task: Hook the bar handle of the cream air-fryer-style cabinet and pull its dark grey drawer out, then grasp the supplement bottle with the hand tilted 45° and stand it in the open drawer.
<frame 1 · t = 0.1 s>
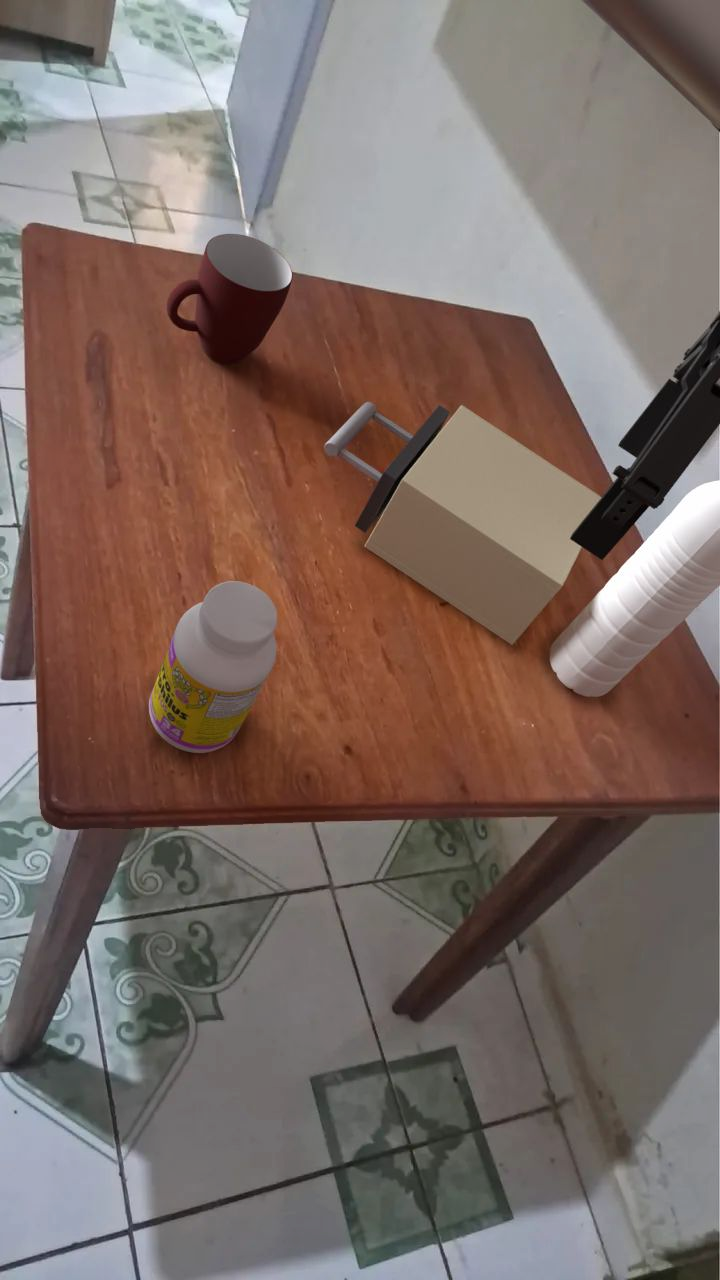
hand: (611, 497, 71), 17 cm above the table, tool pointing down, fingers open, 13 cm apart
mug: (210, 353, 92), on the table
dark grey drawer: (437, 490, 85), point 4 cm above the table, slide at 0.5 cm
water bottle: (585, 679, 85), on the table
supplement bottle: (193, 717, 68), on the table
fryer: (465, 553, 88), on the table
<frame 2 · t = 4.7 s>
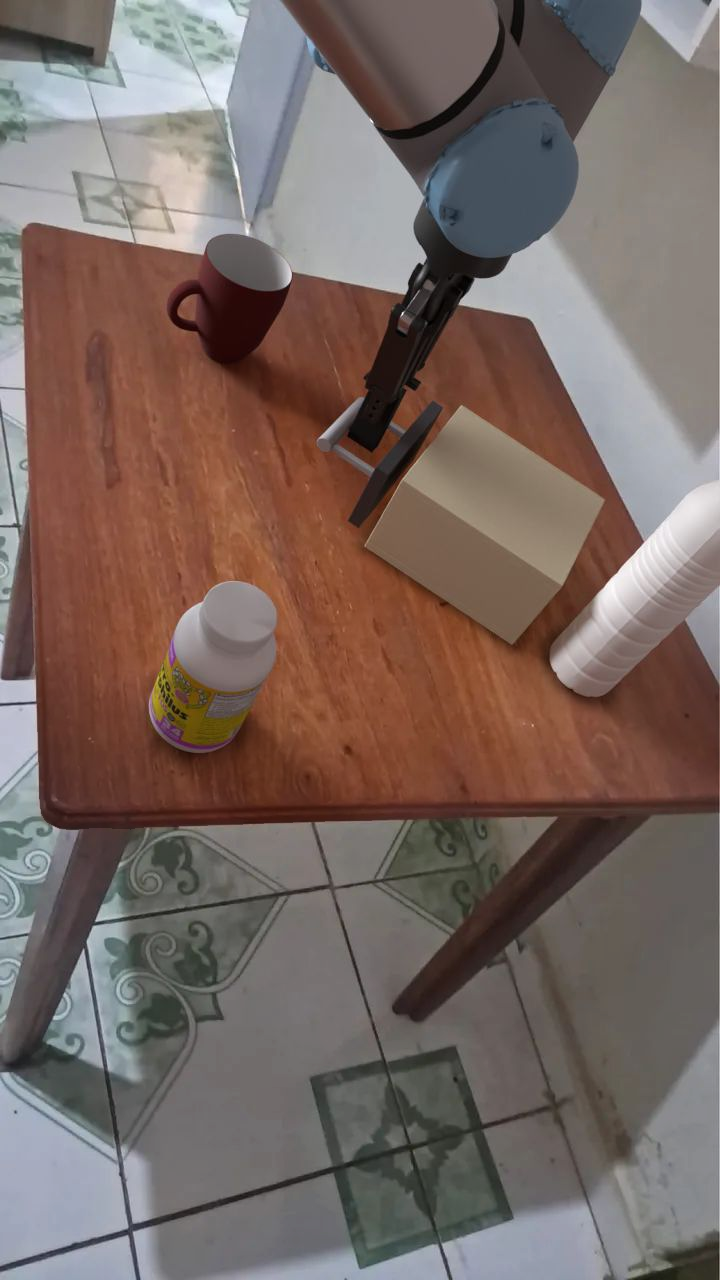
hand: (362, 440, 85), 4 cm above the table, tool pointing down, fingers closed
dark grey drawer: (430, 485, 85), point 4 cm above the table, slide at 1.3 cm
everything else where it was.
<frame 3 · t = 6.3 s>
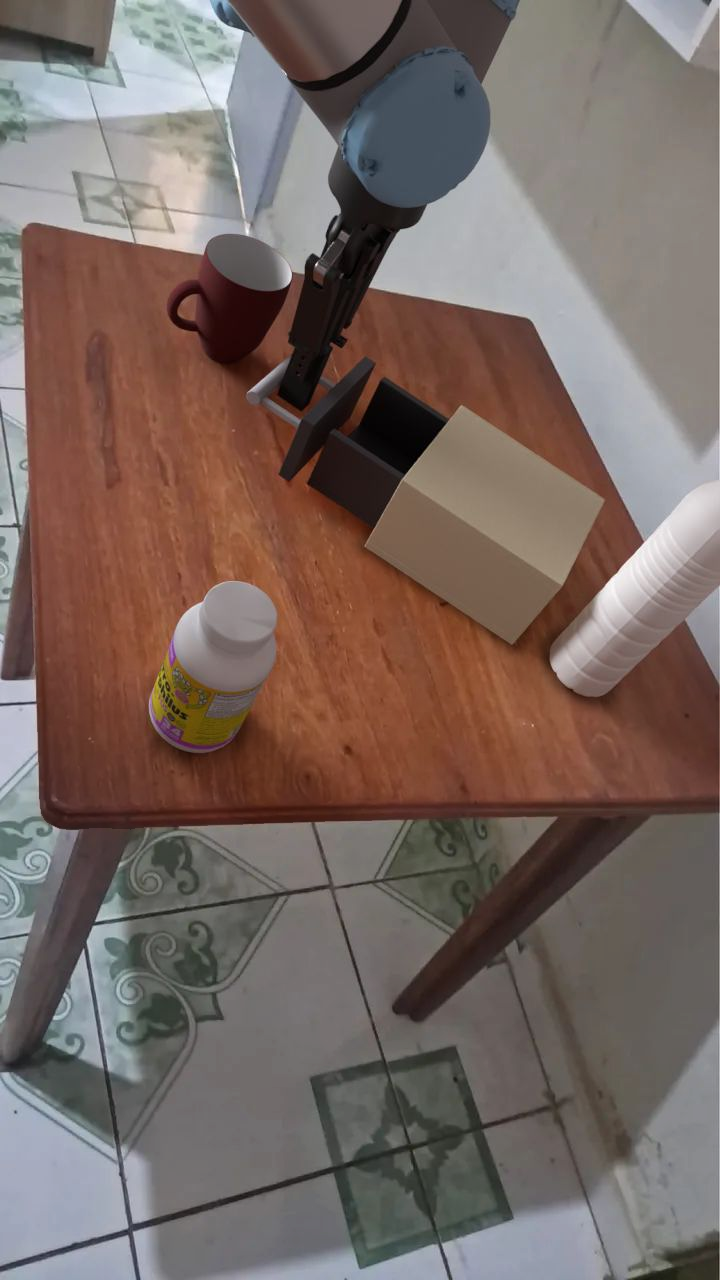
hand: (292, 399, 86), 4 cm above the table, tool pointing down, fingers closed
dark grey drawer: (362, 440, 85), point 4 cm above the table, slide at 8.6 cm, touching gripper
everything else where it was.
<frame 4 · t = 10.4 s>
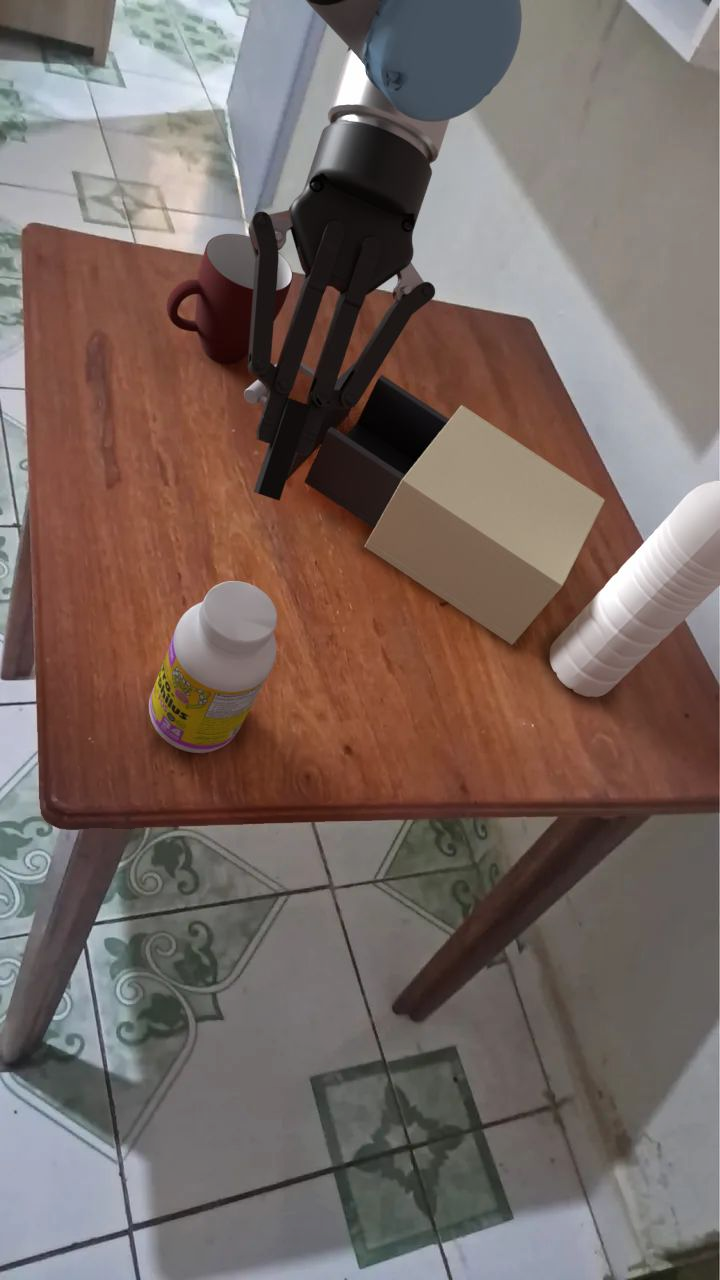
hand: (266, 495, 64), 13 cm above the table, tool tilted 45°, fingers closed
dark grey drawer: (359, 439, 85), point 4 cm above the table, slide at 8.9 cm
everything else where it was.
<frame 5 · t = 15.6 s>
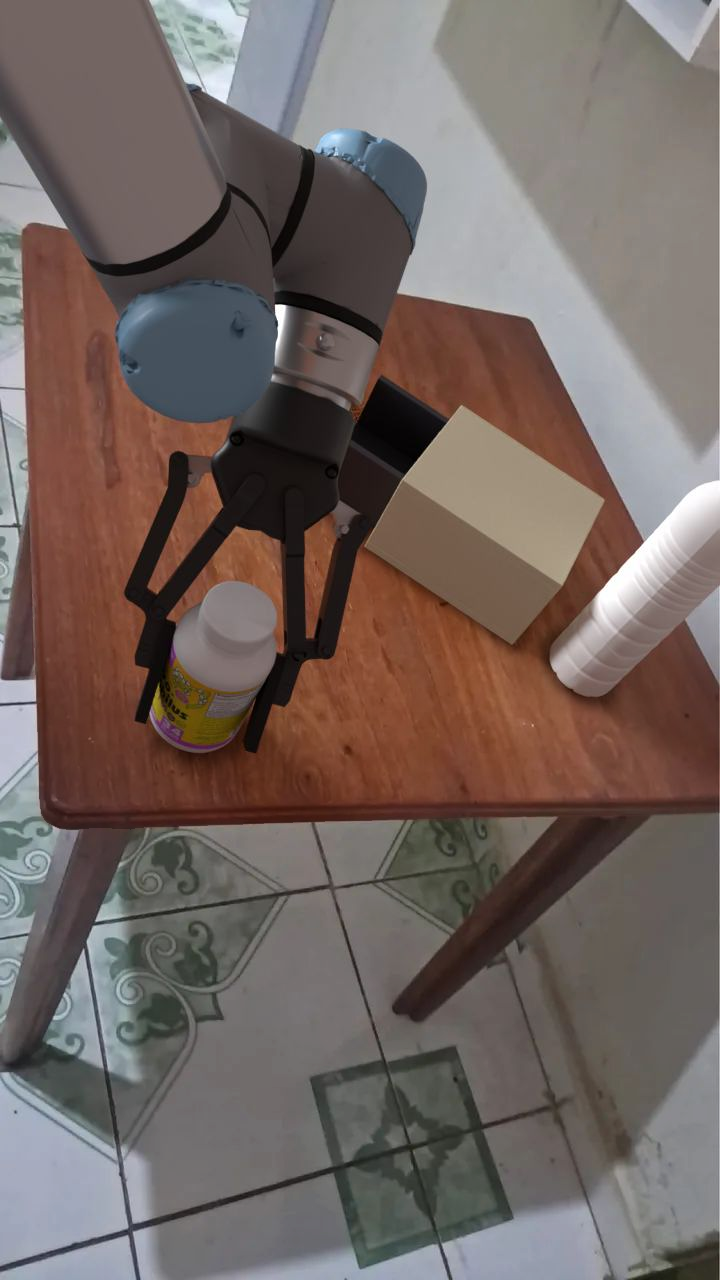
hand: (195, 732, 63), 4 cm above the table, tool tilted 45°, fingers closed on supplement bottle, 7 cm apart
supplement bottle: (193, 717, 68), on the table, touching gripper
everything else where it was.
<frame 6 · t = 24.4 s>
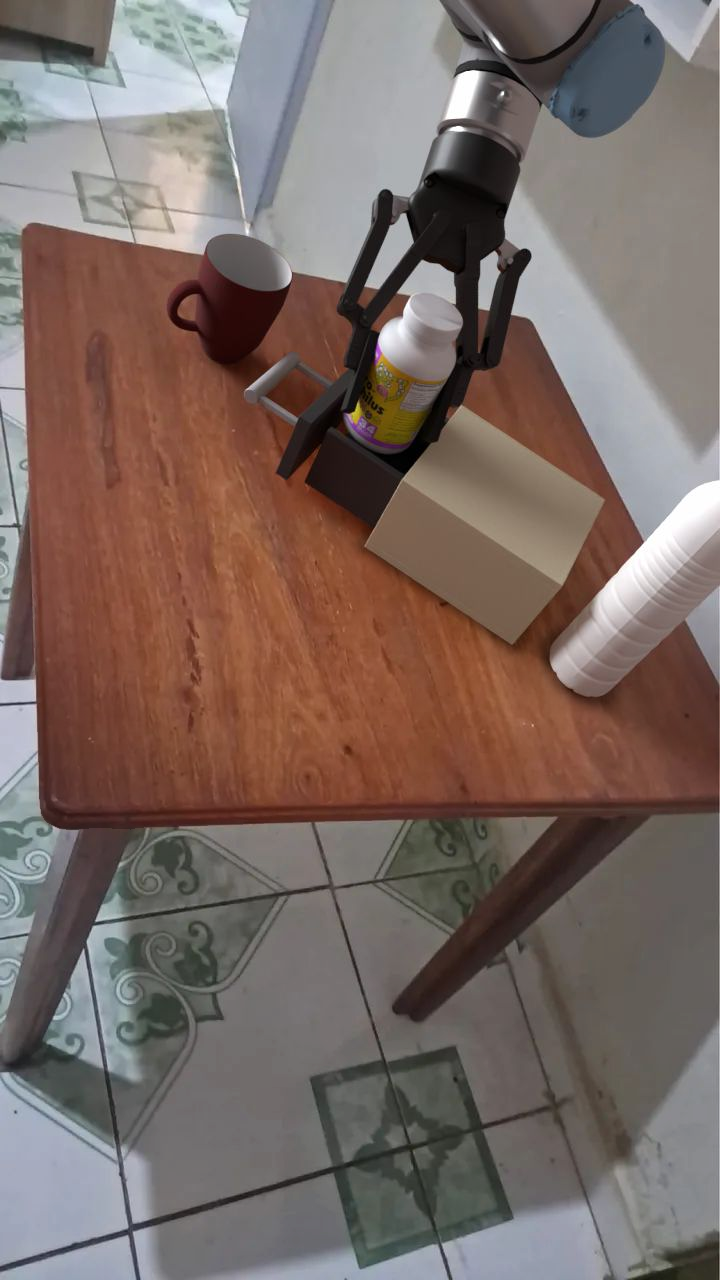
hand: (388, 425, 79), 10 cm above the table, tool tilted 45°, fingers closed on supplement bottle, 7 cm apart
supplement bottle: (375, 432, 84), point 6 cm above the table, touching gripper
everything else where it was.
when the fingers open (10 cm above the table, at t = 25.8 s): supplement bottle drops 4 cm, resting on dark grey drawer.
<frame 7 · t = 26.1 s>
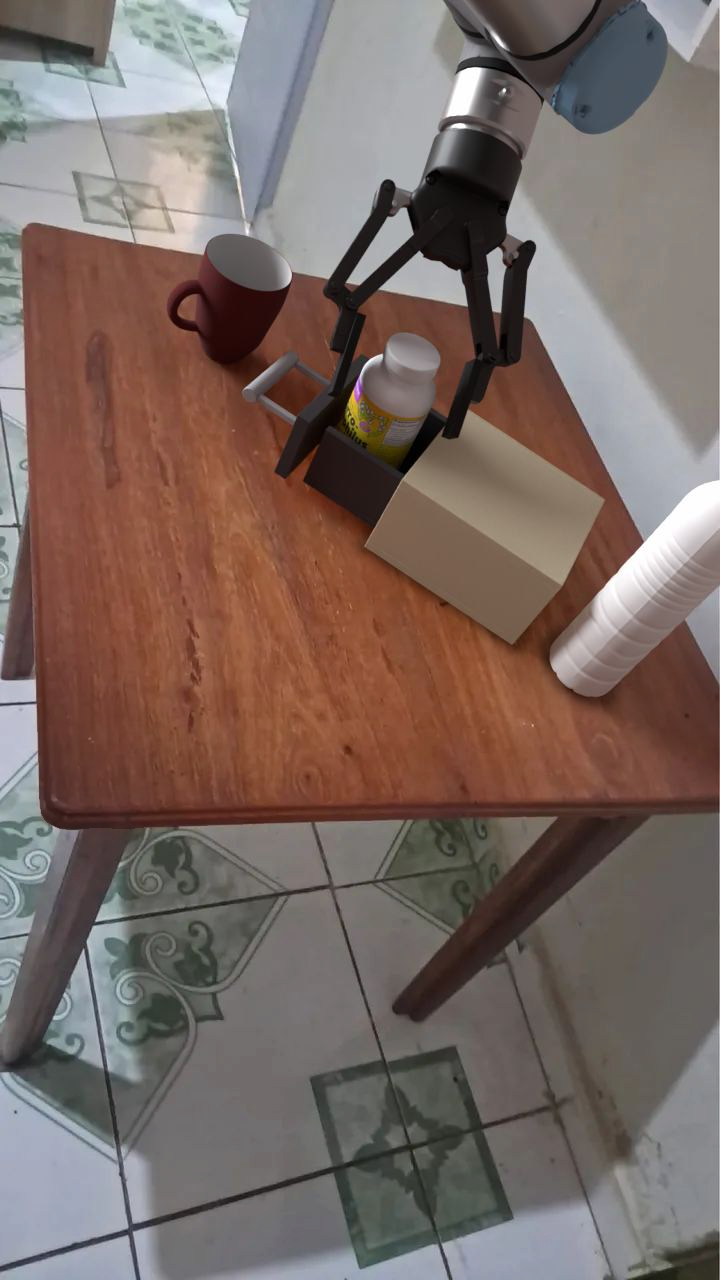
hand: (392, 416, 79), 10 cm above the table, tool tilted 45°, fingers open, 10 cm apart
dark grey drawer: (358, 438, 85), point 4 cm above the table, slide at 9.0 cm, touching supplement bottle
supplement bottle: (361, 463, 87), point 2 cm above the table, touching dark grey drawer
everything else where it was.
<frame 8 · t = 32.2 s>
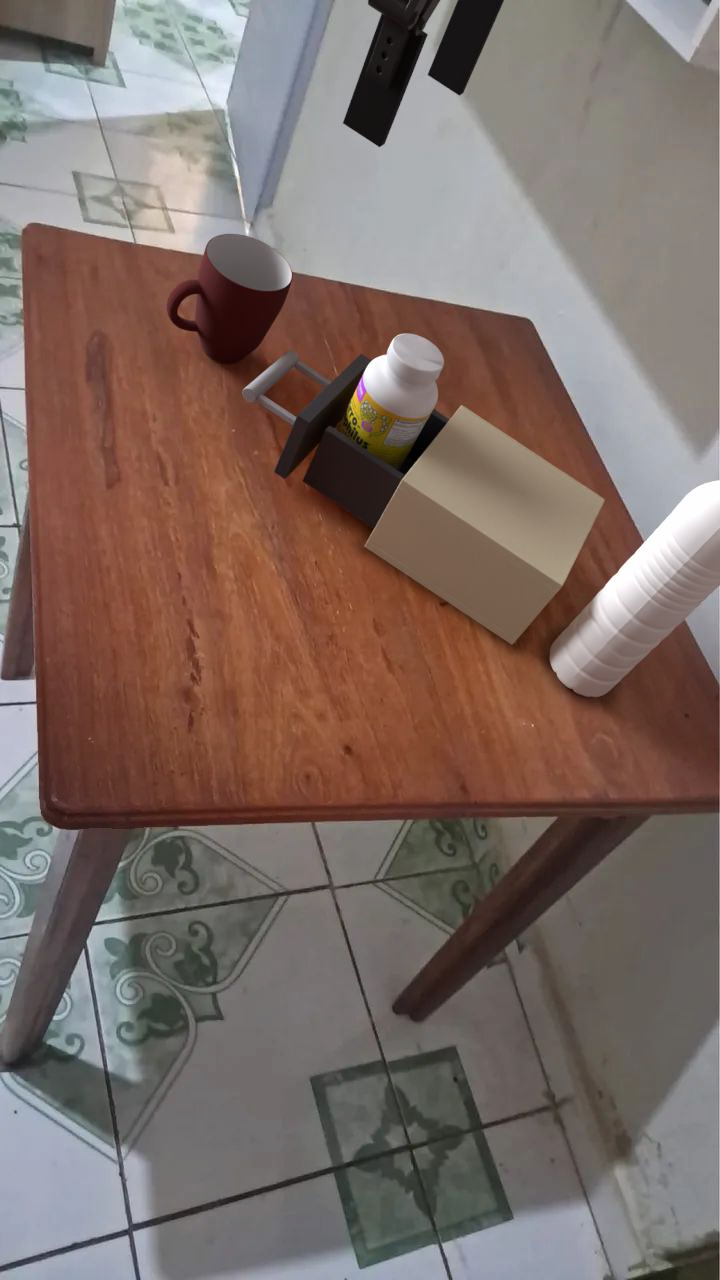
hand: (407, 107, 63), 32 cm above the table, tool pointing down, fingers open, 13 cm apart
nothing on the table moved.
at the end: dark grey drawer slide at 9.0 cm; supplement bottle inside the target area in the dark grey drawer (1.0 cm from its centre), point 1.8 cm above the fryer's base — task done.
